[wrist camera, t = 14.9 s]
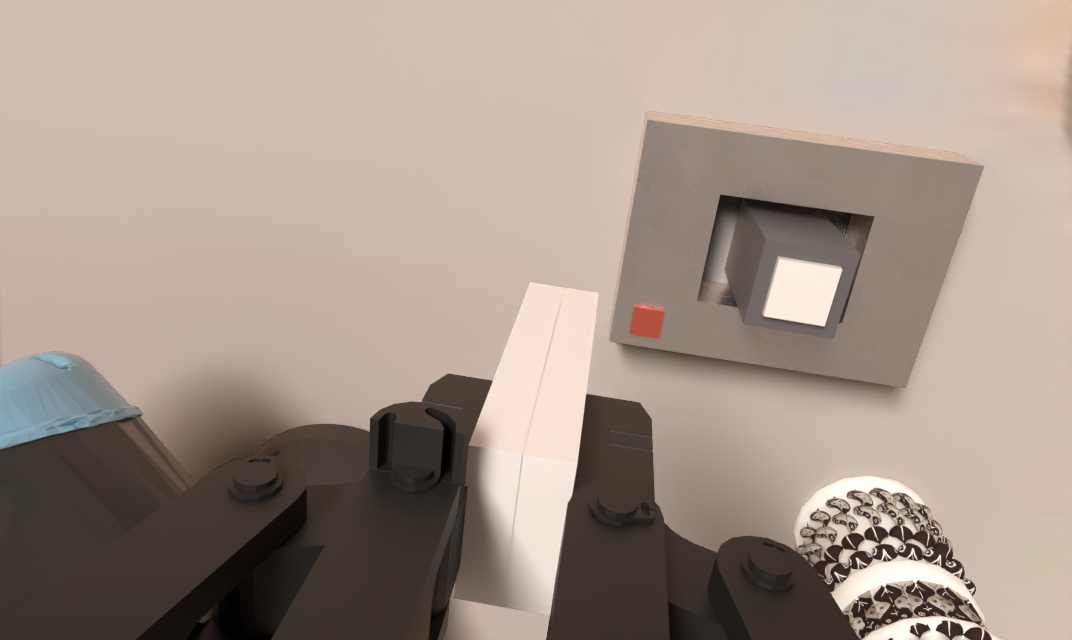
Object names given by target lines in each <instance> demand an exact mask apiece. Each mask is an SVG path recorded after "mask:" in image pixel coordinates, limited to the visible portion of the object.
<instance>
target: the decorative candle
mask: <svg viewBox="0 0 1072 640" xmlns="http://www.w3.org/2000/svg"><path fill="white" fill-rule="evenodd" d="M793 530H794V537H795V544H796V550H797V552H798V553H799V554H800V555H802V556H803V557H804V558H805V559H806V560H807V561H808V562H809V563H810V564H811V565H812V567H813V568H814V569H815V570H816V571H817V573H818V574H819V576H820V578H821V579H822V581H823V582H824V584H825V585H826V587H827V589H828V590H829V592H830V593H831V595H832V596H833V598H834V600H835V601H836V603H837V604H838V606H839V607H840V609H841V611H842V612H843V614H844V615H845V617H846V618H847V620H848V622H849V623H850V625H851V626H852V628H853V629H854V631H855V633H856V634H857V636H858V637H859V639H860V640H1002V639H1001V638H999V637H998V636H996V635H994V634H993V633H991V632H989V631H988V630H987V628H986V627H985V617H984V615H983V614H982V612H981V610H980V608H979V607H978V605H977V603H976V601H975V600H974V598H973V597H972V596H973V595H974V593H975V591H976V587H975V585H974V584H973V582H972V581H970V580H969V579H967V578H963V577H964V574H965V573H964V567H963V565H962V564H961V563H960V562H959V561H957V560H955V559H952V557H953V547H952V545H951V543H950V542H949V540H948V539H947V538H945V537H944V536H943V534H942V532H943V531H942V528H941V526H940V525H939V524H938V523H937V522H936V521H935V520H933V517H932V513H931V511H930V509H929V508H928V507H926V506H925V504H924V503H923V501H922V499H921V498H920V496H919V495H918V493H916V492H914V491H913V490H911V489H909V488H908V487H906V486H905V485H903V484H901V483H900V482H898V481H897V480H892V479H887V478H882V477H876V476H871V475H867V476H859V477H851V478H844V479H840V480H838V481H836V482H834V483H832V484H830V485H828V486H825V487H823V488H821V489H819V490H817V491H816V492H815V493H814V494H813V496H812V497H811V498H810V499H809V500H808V501H807V502H806V503H805V504H804V505H803V506H802V507H801V508H800V511H799V514H798V516H797V519H796V522H795V525H794V527H793Z"/></svg>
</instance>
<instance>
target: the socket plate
mask: <svg viewBox="0 0 1072 640" xmlns="http://www.w3.org/2000/svg"><path fill="white" fill-rule="evenodd" d="M983 168H984V166H983V165H981V164H979V163H977V162H975V161H972V160H970V159H968V158H966V157H964V156H961V155H959V154H957V153H954V152H947V151H939V150H932V149H925V148H917V147H910V146H903V145H895V144H888V143H881V142H873V141H866V140H859V139H851V138H844V137H837V136H829V135H822V134H815V133H807V132H800V131H793V130H785V129H778V128H771V127H763V126H756V125H749V124H741V123H734V122H727V121H719V120H712V119H705V118H697V117H690V116H683V115H675V114H668V113H661V112H653V111H646V115H645V121H644V127H643V133H642V139H641V145H640V151H639V157H638V162H637V168H636V174H635V180H634V186H633V192H632V198H631V203H630V209H629V215H628V221H627V227H626V233H625V239H624V245H623V250H622V256H621V262H620V268H619V274H618V280H617V286H616V291H615V297H614V303H613V309H612V315H611V325H610V338H609V342H616V343H622V344H628V345H635V346H641V347H647V348H654V349H660V350H667V351H673V352H679V353H686V354H692V355H698V356H705V357H711V358H718V359H724V360H730V361H737V362H743V363H749V364H756V365H762V366H768V367H775V368H781V369H788V370H794V371H800V372H807V373H813V374H819V375H826V376H832V377H838V378H845V379H851V380H858V381H864V382H870V383H877V384H883V385H889V386H896V387H902V388H906V385H907V382H908V379H909V376H910V374H911V371H912V368H913V365H914V362H915V360H916V357H917V354H918V351H919V348H920V345H921V343H922V340H923V337H924V334H925V331H926V329H927V326H928V323H929V320H930V317H931V314H932V312H933V309H934V306H935V303H936V300H937V298H938V295H939V292H940V289H941V286H942V283H943V281H944V278H945V275H946V272H947V269H948V267H949V264H950V261H951V258H952V255H953V252H954V250H955V247H956V244H957V241H958V238H959V236H960V233H961V230H962V227H963V224H964V222H965V219H966V216H967V213H968V210H969V207H970V205H971V202H972V199H973V196H974V193H975V191H976V188H977V185H978V182H979V179H980V176H981V174H982V171H983ZM720 194H721V195H728V196H735V197H742V198H749V199H756V200H763V201H770V202H777V203H784V204H791V205H798V206H805V207H812V208H819V209H826V210H833V211H840V212H847V213H852V214H851V217H850V221H849V224H848V227H847V231H846V234H845V238H846V239H847V240H848V241H849V242H850V243H851V244H852V245H853V246H854V248H855V249H856V250H857V251H858V252H859V253H860V254H861V255H860V258H859V261H858V264H857V267H856V271H855V274H854V277H853V280H852V283H851V286H850V289H849V292H848V296H847V299H846V302H845V305H844V308H843V311H842V314H841V317H840V320H839V324H838V327H837V330H836V333H835V336H834V339H829V338H823V337H817V336H811V335H805V334H799V333H793V332H787V331H781V330H775V329H769V328H763V327H757V326H752V325H746V324H743V321H742V319H741V316H740V313H739V310H738V307H737V304H736V301H735V298H734V295H733V292H732V289H731V286H730V285H727V284H721V283H714V282H708V281H701V280H702V276H703V271H704V266H705V262H706V257H707V253H708V248H709V243H710V239H711V234H712V230H713V225H714V220H715V216H716V211H717V207H718V202H719V198H720Z"/></svg>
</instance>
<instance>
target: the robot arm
mask: <svg viewBox="0 0 1072 640" xmlns="http://www.w3.org/2000/svg"><path fill="white" fill-rule="evenodd" d="M598 296H599V293H596V292H590V291H583V290H577V289H570V288H564V287H557V286H551V285H544V284H538V283H531V282H530V284H529V287H528V290H527V292H526V295H525V298H524V300H523V303H522V305H521V308H520V311H519V313H518V316H517V319H516V321H515V324H514V327H513V329H512V332H511V334H510V337H509V340H508V342H507V345H506V348H505V350H504V353H503V356H502V358H501V361H500V364H499V366H498V369H497V371H496V374H495V377H494V379H493V381H491V380H484V379H478V378H472V377H466V376H460V375H454V374H447V375H445V376H444V377H442V378H441V379H439V380H437V381H436V382H434V383H433V384H431V385H430V387H429V388H428V390H427V392H426V394H425V396H424V398H423V399H422V402H406V403H399V404H393V405H391V406H388V407H386V408H383V409H381V410H379V411H378V412H377V413H376V414H375V415H374V416H372V417H371V418H370V432H368V431H365V430H362V429H358V428H354V427H349V426H344V425H336V424H314V425H306V426H301V427H297V428H294V429H290V430H288V431H285V432H283V433H281V434H279V435H277V436H275V437H273V438H272V439H270V440H269V441H268V442H266V443H265V444H264V445H263V446H262V447H260V449H259V450H258V451H257V452H256V453H255V454H254V455H253V456H249V457H245V458H241V459H237V460H233V461H231V462H229V463H227V464H225V465H223V466H221V467H219V468H217V469H215V470H214V471H213V472H211V473H210V474H208V475H207V476H205V477H204V478H203V479H201V480H200V481H198V482H197V483H196V482H195V481H194V480H193V478H192V477H191V476H190V475H189V474H188V473H187V471H186V470H185V469H184V468H183V467H182V465H181V464H180V463H179V462H178V461H177V460H176V458H175V457H174V456H173V455H172V454H171V453H170V451H169V450H168V449H167V448H166V447H165V445H164V444H163V443H162V442H161V441H160V440H159V438H158V437H157V436H156V435H155V434H154V433H153V431H152V430H151V429H150V428H149V427H148V426H147V424H146V423H145V422H144V421H143V420H142V418H141V417H140V416H142V415H143V414H142V412H141V410H140V409H139V408H138V407H136V406H130V404H129V403H128V402H127V401H126V400H125V399H124V398H123V397H122V396H121V395H120V394H119V393H118V392H117V391H116V390H115V389H114V388H113V387H112V386H111V385H110V383H109V382H108V381H107V380H106V379H105V378H104V377H103V376H102V375H101V374H100V373H99V372H98V371H97V370H96V369H95V368H94V367H93V366H92V365H91V364H90V363H89V362H87V361H86V360H85V359H83V358H81V357H79V356H77V355H74V354H71V353H66V352H57V351H51V352H43V353H38V354H34V355H30V356H27V357H24V358H21V359H18V360H16V361H13V362H10V363H8V364H5V365H3V366H0V640H443V638H444V635H445V631H446V628H447V622H448V611H449V601H450V596H451V593H452V590H453V587H454V583H455V580H456V583H455V593H454V598H456V599H461V600H467V601H472V602H478V603H483V604H489V605H494V606H500V607H505V608H511V609H516V610H522V611H527V612H533V613H538V614H544V615H549V616H550V620H549V626H548V632H547V638H546V640H860V639H859V637H858V636H857V634H856V633H855V631H854V629H853V628H852V626H851V625H850V623H849V622H848V620H847V618H846V617H845V615H844V614H843V612H842V611H841V609H840V607H839V606H838V604H837V603H836V601H835V600H834V598H833V596H832V595H831V593H830V592H829V590H828V589H827V587H826V585H825V584H824V582H823V581H822V579H821V578H820V576H819V574H818V573H817V571H816V570H815V569H814V568H813V567H812V565H811V564H810V563H809V562H808V561H807V560H806V559H805V558H804V557H803V556H802V555H800V554H799V553H797V552H796V551H794V550H793V549H791V548H790V547H788V546H786V545H784V544H781V543H778V542H776V541H773V540H771V539H768V538H762V537H755V536H742V537H735V538H731V539H730V540H728V541H726V542H725V543H723V544H722V545H721V546H720V548H719V550H718V553H716V552H714V551H711V550H709V549H706V548H704V547H701V546H699V545H696V544H694V543H692V542H690V541H688V540H686V539H684V538H682V537H681V536H679V535H678V534H677V533H675V532H674V531H672V530H671V529H670V528H669V527H668V526H667V525H666V524H665V523H664V518H663V516H662V513H661V510H660V507H659V506H658V505H657V504H656V503H655V496H654V470H653V453H652V450H653V445H652V419H651V418H650V416H649V415H648V414H647V412H646V411H645V409H644V408H643V407H642V405H641V404H640V403H639V402H633V401H627V400H620V399H614V398H608V397H602V396H596V395H590V394H586V391H587V383H588V375H589V368H590V360H591V352H592V344H593V336H594V328H595V320H596V312H597V304H598Z"/></svg>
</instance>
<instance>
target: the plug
mask: <svg viewBox="0 0 1072 640" xmlns="http://www.w3.org/2000/svg"><path fill="white" fill-rule="evenodd" d="M860 255H861V254H860V253H859V252H858V251H857V250H856V249H855V248H854V246H853V245H852V244H851V243H850V242H849V241H848V240H847V239H846V238H845V236H844V235H843V234H842V233H841V232H840V231H839V230H838V229H837V228H836V227H835V225H834V224H833V223H832V222H831V221H830V220H829V219H828V218H827V217H826V216H825V214H824V213H823V212H822V211H821V210H820V209H813V208H807V207H801V206H794V205H788V204H782V203H775V202H769V201H763V200H756V199H749V198H742V202H741V206H740V210H739V214H738V218H737V222H736V226H735V230H734V234H733V238H732V242H731V246H730V250H729V254H728V258H727V262H726V266H725V271H726V274H727V277H728V280H729V283H730V286H731V289H732V292H733V295H734V298H735V301H736V304H737V307H738V310H739V313H740V316H741V319H742V321H743V324H746V325H752V326H757V327H763V328H769V329H775V330H781V331H787V332H793V333H799V334H805V335H811V336H817V337H823V338H829V339H834V336H835V333H836V330H837V327H838V324H839V320H840V317H841V314H842V311H843V308H844V305H845V302H846V299H847V296H848V292H849V289H850V286H851V283H852V280H853V277H854V274H855V271H856V267H857V264H858V261H859V258H860Z"/></svg>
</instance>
